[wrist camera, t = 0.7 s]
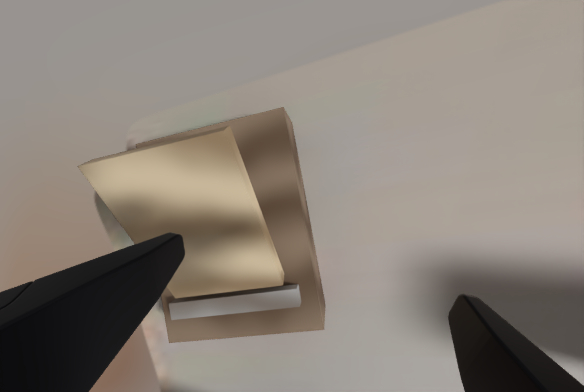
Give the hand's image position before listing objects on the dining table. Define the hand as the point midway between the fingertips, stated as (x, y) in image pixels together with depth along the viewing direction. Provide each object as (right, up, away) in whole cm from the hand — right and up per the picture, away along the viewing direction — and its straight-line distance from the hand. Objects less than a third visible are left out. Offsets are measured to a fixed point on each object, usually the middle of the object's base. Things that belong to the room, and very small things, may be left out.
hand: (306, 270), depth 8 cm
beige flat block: (-6, -1, +18) cm, 19 cm away
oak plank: (-8, 0, +10) cm, 13 cm away
